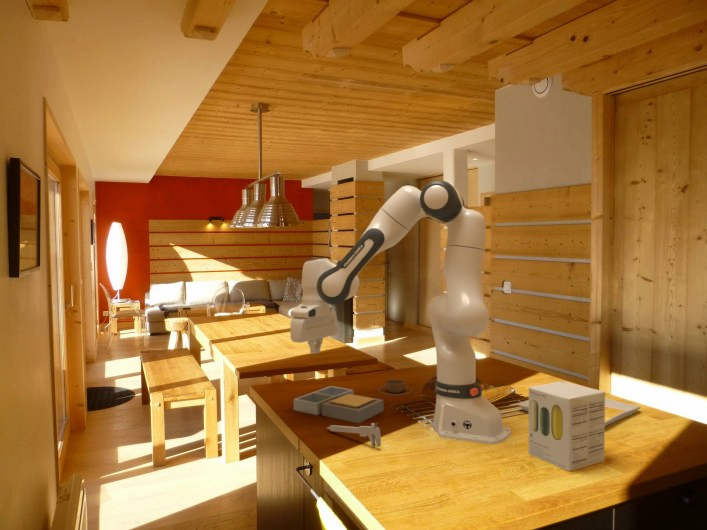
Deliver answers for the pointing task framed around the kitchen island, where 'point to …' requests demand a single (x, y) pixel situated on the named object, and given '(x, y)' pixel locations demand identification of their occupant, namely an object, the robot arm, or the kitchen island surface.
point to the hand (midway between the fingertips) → (315, 352)
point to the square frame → (352, 411)
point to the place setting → (396, 387)
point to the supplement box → (566, 424)
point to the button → (353, 401)
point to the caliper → (361, 432)
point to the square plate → (609, 403)
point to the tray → (318, 399)
